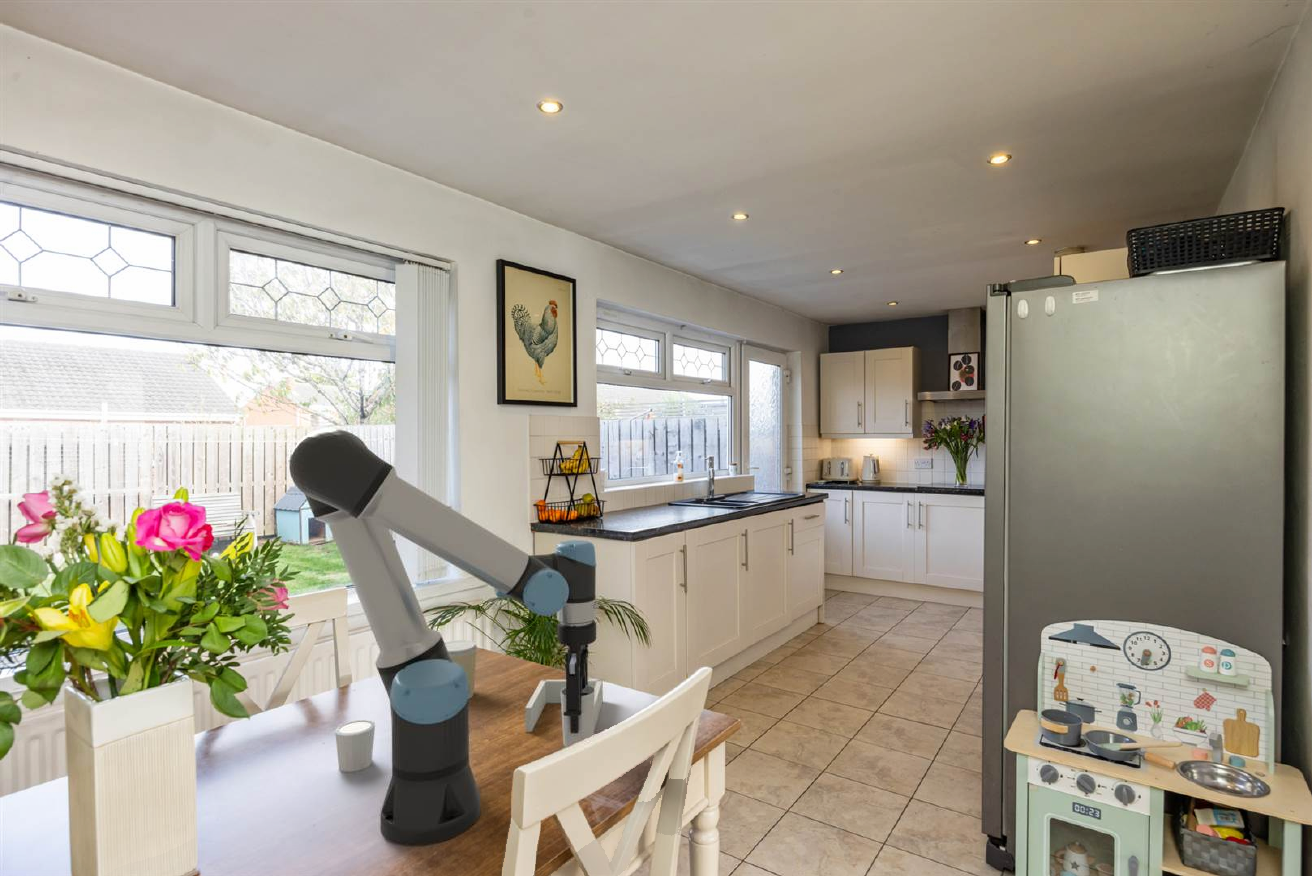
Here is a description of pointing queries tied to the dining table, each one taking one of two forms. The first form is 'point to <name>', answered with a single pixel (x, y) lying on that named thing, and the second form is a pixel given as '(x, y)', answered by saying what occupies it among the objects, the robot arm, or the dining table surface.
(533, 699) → the u-shaped frame
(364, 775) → the dining table surface
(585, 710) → the white cup
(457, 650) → the coffee cup
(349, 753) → the white tapered cup
